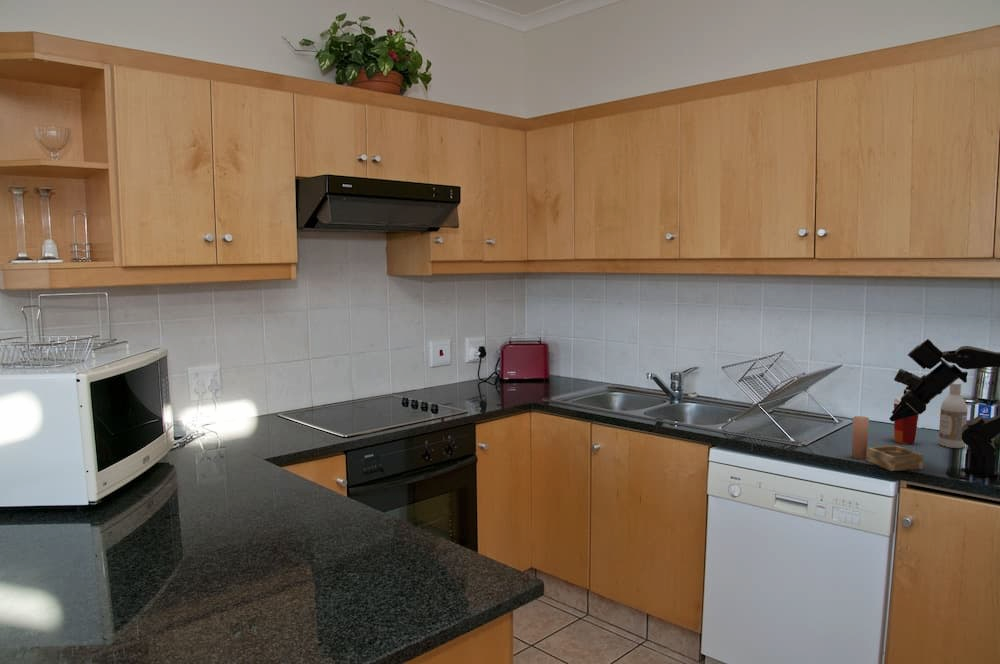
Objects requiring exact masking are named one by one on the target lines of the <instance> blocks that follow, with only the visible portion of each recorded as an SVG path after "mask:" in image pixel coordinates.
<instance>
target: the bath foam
mask: <svg viewBox="0 0 1000 664" xmlns="http://www.w3.org/2000/svg"><path fill="white" fill-rule="evenodd" d="M961 389H962V383H961V382H957V381H955V382H953V383H952V384H951V385H949V393H948V395H947V396H946V397H945V398H944V400H943V401H942V403H941V406H940V415H939V417H940V418H939V429H938V430H939V431H938V433H939V434H938V444H939V445H940V446H941V445H942V446H941V447H944V446H945V448H950V449H951V448H952V449H962V448H965V445H966V444H965V443H964V442H963V440H962V436H961V429H962V427H963V425H965V424H966V421H967V420H968V406H967V403H966V402H965V400H964V398H963V397H962V394H961V391H962V390H961Z"/></svg>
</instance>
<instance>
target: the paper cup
mask: <svg viewBox="0 0 1000 664" xmlns="http://www.w3.org/2000/svg"><path fill="white" fill-rule="evenodd" d="M901 397H902V396H899V397H898V396H896V397H894V398H893V401H892V403H893V410H894V409H895V408H896V406H897V405H898V404H899V403H900V401H901ZM918 422H919V415H915V416H911V417H907V418H903V419H900V420H896V421H893V431H894V433H893V434H894V435H893V436H894V438H893V439H894V442H895V443H897V442H898V444H901V443H902V444H901V445H914V444H915V442H916V437H917V436H916V435H917V427H918ZM913 443H914V444H913Z"/></svg>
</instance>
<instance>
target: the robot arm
mask: <svg viewBox="0 0 1000 664" xmlns="http://www.w3.org/2000/svg"><path fill="white" fill-rule="evenodd" d="M907 356H908V357H909V358H911V360H912V361H913V362H914V363H916V364H917V365H918V366H919V367H920V368H922V370H924V369H927V370H928V369H929V370H931V369H933V370H931V371H930V372H929V373H927V374H923V375H922V376H921V377H920V376H919V375H916V374H913V373H912V372H909V371H908V370H905V369H902V368H899V369H898V371H897V373H896V375H895V376H894V379H893V380H894V381H895V382H897V383H901V384H903V385H905V389H903V395H902V396H900V397H901V401H900V403H899V404H898V405H897V406H896V408H895V409H894V408H893V410H892V411H891V413H892V415H891V416H890V417H889V421H890V422H893V423H894V421H896V420H900V419H903V418H907V417H911V416H915V415H918V416H919V415H922V414H923V413H924V412H925V411H926V410H927V405H928V404H929V403H931V401H932V400H933V399H935V397H937V396H938V395H941V394H943V391H944V390H946V389H947V388H948V387H950V385H951V384H952V383H953V382H957V380H961V381H962V383H967V382H968V380H967V379H968V378H967V377H968V374H969V373H968V371H962V370H961V369H964V370H974V369H978V370H979V369H986V368H995V367H997V368H1000V352H999V351H992V350H988V349H984V348H980V347H976V346H975V347H974V346H971V345H970V346H969V345H962V346H960V347H958V348H957V349H954V350H946V351H942V349H941V350H940V349H939V347H937V346H936V345H935V344H934V343H933V342H932V341H931V340H930V339H929V338H927V339H926V340H924V341H923V342H921V343H920V344H919V345H916V346H915V347H914V348H913V349H911V351H909V352H908V354H907ZM939 363H940V364H939ZM949 363H950V364H952V365H950V364H949ZM938 364H939V365H938ZM934 367H935V368H934ZM960 368H961V369H960ZM998 435H1000V414H997V415H995V416H992V417H988V418H984V417H983V415H982V414H979V415H977V416H976V417H974V418H973V419H969V420H968V419H967V421H966V424H965V425H963V427H962V429H961V436H962V440H963V442H964V443H965V445H966V446H968V448H966V452H965V459H964V467H962V468H960V471H963V472H965V473H969V474H970V475H973V476H976V477H979V478H985V477H995V476H1000V473H999V472H996V471H995V470H996V459H997V457H996V456H997V453H995V452H996V450H997V449H996V446H995V443H994V441H993V440H994V438H996V437H997V436H998Z"/></svg>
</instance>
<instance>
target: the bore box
mask: <svg viewBox="0 0 1000 664" xmlns="http://www.w3.org/2000/svg"><path fill="white" fill-rule="evenodd" d="M866 460H867V461H866ZM865 461H866V462H868V461H869V462H868V463H870V462H872V463H871V464H873V463H874V465H875V464H877V465H879V466H878V467H880V468H883V469H886V470H888V471H890V472H894V471H895V472H897V471H907V470H906V469H911V470H920V469H921V470H922V469H923V463H924V462H923V461H924V454H922V453H919V452H916V451H913V450H911V449H908V448H905V447H902V446H900V445H885V446H870V447H868V446H867V451H866V459H865ZM877 465H876V466H877Z"/></svg>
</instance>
